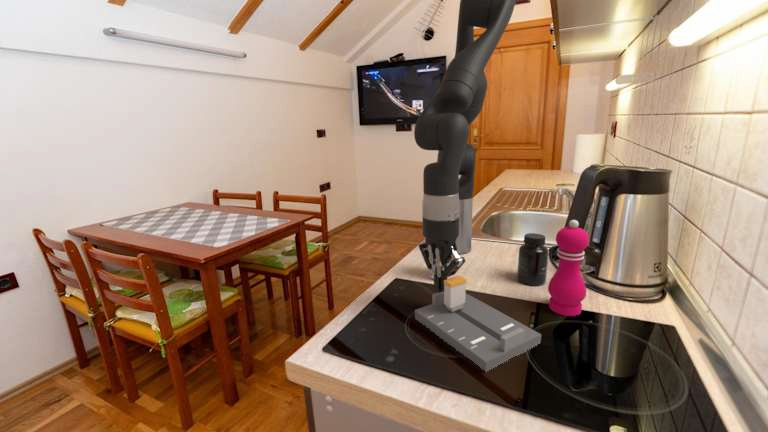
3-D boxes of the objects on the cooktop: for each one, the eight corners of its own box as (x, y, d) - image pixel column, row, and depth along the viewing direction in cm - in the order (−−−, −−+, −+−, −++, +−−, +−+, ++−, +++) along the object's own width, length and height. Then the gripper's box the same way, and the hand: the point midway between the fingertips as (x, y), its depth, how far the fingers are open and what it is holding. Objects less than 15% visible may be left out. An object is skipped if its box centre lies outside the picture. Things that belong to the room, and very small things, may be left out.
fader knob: (443, 308, 74) (443, 280, 72) (458, 302, 76) (459, 275, 74) (450, 313, 72) (450, 284, 70) (465, 307, 74) (466, 279, 72)
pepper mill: (582, 321, 72) (594, 226, 66) (543, 312, 75) (552, 222, 70) (584, 305, 77) (595, 217, 72) (549, 297, 81) (556, 213, 76)
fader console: (414, 318, 75) (414, 299, 74) (464, 300, 82) (464, 282, 80) (485, 372, 58) (486, 349, 57) (540, 343, 65) (542, 322, 64)
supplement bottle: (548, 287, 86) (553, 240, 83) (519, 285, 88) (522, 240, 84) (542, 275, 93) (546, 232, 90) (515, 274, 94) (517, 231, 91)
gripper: (407, 210, 76) (409, 283, 81) (448, 224, 65) (447, 308, 70) (434, 205, 80) (434, 275, 85) (477, 217, 69) (475, 297, 74)
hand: (440, 290), depth 77 cm, fingers closed
